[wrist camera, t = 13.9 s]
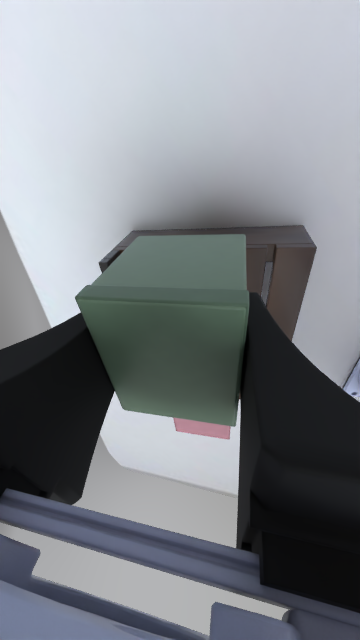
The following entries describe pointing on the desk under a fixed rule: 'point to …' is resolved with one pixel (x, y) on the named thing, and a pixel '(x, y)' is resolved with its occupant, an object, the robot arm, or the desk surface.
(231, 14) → the desk surface
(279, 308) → the rack
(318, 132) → the desk surface
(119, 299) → the sage box
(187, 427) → the rose box
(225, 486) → the desk surface
